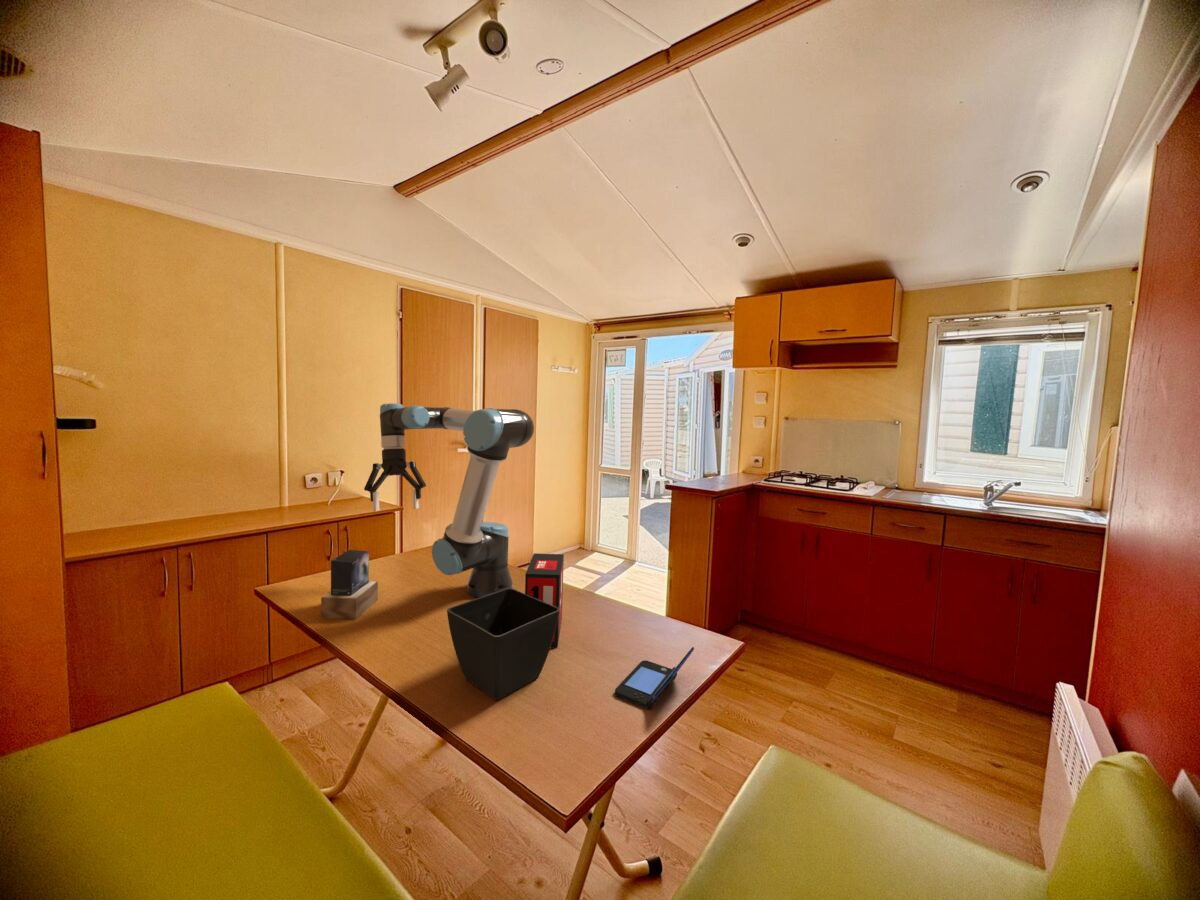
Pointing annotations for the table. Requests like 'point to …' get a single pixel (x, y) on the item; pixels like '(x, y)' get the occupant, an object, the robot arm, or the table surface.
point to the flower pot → (502, 639)
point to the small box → (349, 572)
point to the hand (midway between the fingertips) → (396, 509)
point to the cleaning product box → (547, 583)
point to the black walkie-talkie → (647, 682)
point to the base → (349, 603)
